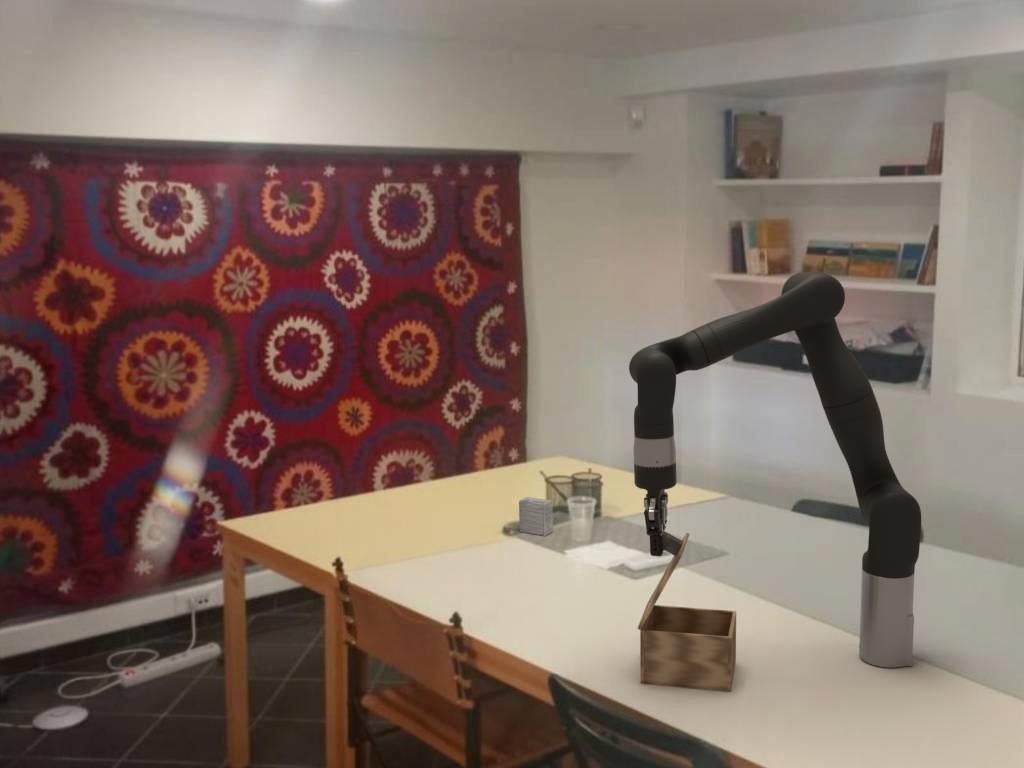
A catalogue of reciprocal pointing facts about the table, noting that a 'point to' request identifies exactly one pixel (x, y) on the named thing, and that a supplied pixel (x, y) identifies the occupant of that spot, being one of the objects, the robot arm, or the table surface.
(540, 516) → the medicine box
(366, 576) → the table surface
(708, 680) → the wooden box
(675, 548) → the lid flap
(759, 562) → the table surface
